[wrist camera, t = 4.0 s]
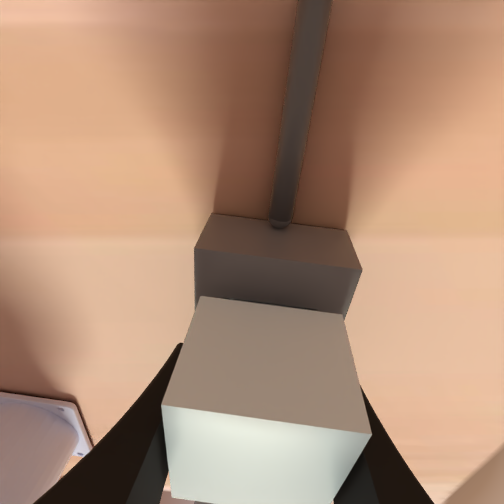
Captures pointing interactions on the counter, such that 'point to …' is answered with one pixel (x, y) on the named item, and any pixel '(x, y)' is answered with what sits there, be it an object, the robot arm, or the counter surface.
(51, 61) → the counter surface
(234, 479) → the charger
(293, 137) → the power strip
